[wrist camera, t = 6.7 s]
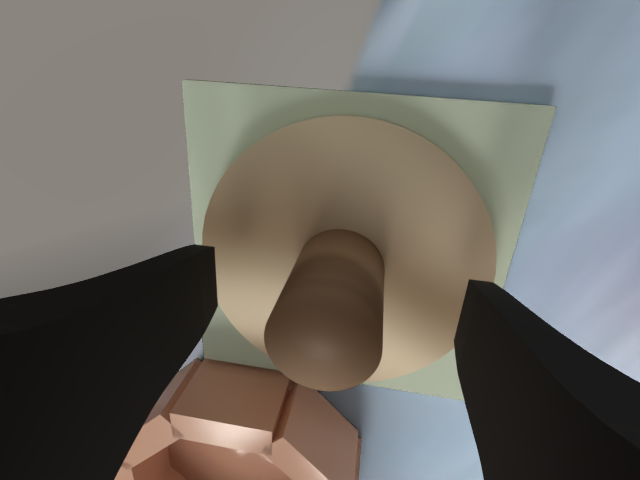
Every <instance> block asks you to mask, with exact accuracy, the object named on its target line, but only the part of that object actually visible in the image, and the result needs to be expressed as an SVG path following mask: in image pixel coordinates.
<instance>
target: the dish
mask: <svg viewBox="0 0 640 480" xmlns="http://www.w3.org/2000/svg"><path fill="white" fill-rule="evenodd" d="M358 432H359V431H358V430H357V429H356V428H354V427H353V426H352V425H351V424H350V423H349V422H348V421H347V420H346V419H345V418H344V417H343V416H342V415H341V414H340V413H339V412H338V411H337V410H336V409H335V408H334V407H333V406H332V405H331V404H330V403H329V402H328V401H327V400H326V399H325V398H324V397H323V396H322V395H321V394H320V393H319V392H318V391H317V390H315V389H311V388H308V387H305V386H302V385H300V384H298V383H296V382H294V381H292V380H291V379H289V378H288V377H286V376H285V375H284V374H283V373H282V372H280V371H279V370H273V369H267V368H261V367H255V366H249V365H243V364H237V363H231V362H225V361H219V360H213V359H207V358H204V360H203V361H201V360H200V359H199V358H196V359H195V360H194V361H192V362H191V363H189V364H188V365H187V366H185V367H184V368H183V369H181V370H180V371H178V372H177V374H176V375H175V376H174V378H173V379H172V381H171V382H170V383H169V385H168V386H167V388H166V389H165V391H164V392H163V393H162V395H161V396H160V398H159V400H158V401H157V403H156V404H155V406H154V407H153V409H152V411H151V412H150V414H149V416H148V418H147V419H146V421H145V423H144V425H143V427H142V428H141V430H140V432H139V434H138V436H137V437H136V439H135V441H134V443H133V445H132V447H131V448H130V450H129V452H128V454H127V456H126V458H125V460H124V462H123V464H122V466H121V468H120V470H119V471H118V473H117V475H116V477H115V479H114V480H358V476H359V463H360V449H361V438H358Z"/></svg>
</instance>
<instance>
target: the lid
mask: <svg viewBox="0 0 640 480" xmlns="http://www.w3.org/2000/svg"><path fill="white" fill-rule="evenodd" d="M202 245H204V246H212V247H215V263H216V281H217V298H218V304H219V306H220V307H221V309H222V311H223V312H224V314H225V315H226V316H227V318H228V319H229V321H230V322H231V323H232V325H233V326H234V327H235V328H236V329H237V330H238V331H239V332H240V333H241V335H242V336H243V337H245V338H246V339H247V340H248V341H249V342H250V343H251V344H252V345H253V346H255V347H256V348H257V349H259V350H260V351H262V352H263V353H264V354H266V355H267V356H269V357H270V359H271V361H272V362H273V364H274V365H275V366H276V367H277V368H278V370H279V371H280V372H282V373H283V374H284V375H285V376H286V377H288V378H289V379H291V380H292V381H294V382H296V383H298V384H300V385H302V386H305V387H308V388H311V389H315V390H320V391H341V390H346V389H350V388H353V387H355V386H358V385H360V384H361V383H363V382H373V381H381V380H387V379H392V378H396V377H400V376H403V375H407V374H410V373H412V372H415V371H417V370H419V369H422V368H424V367H426V366H428V365H430V364H432V363H433V362H435V361H437V360H439V359H440V358H442V357H443V356H444V355H446V354H447V353H448V352H450V351H451V350H452V349H454V337H455V333H456V329H457V325H458V321H459V317H460V313H461V309H462V305H463V301H464V297H465V293H466V289H467V285H468V281H469V279H472V280H480V281H487V282H493V283H494V278H495V274H496V259H497V254H496V242H495V235H494V231H493V227H492V223H491V219H490V216H489V214H488V212H487V209H486V207H485V204H484V202H483V200H482V198H481V196H480V195H479V193H478V192H477V190H476V188H475V187H474V185H473V183H472V182H471V180H470V179H469V178H468V176H467V175H466V174H465V173H464V172H463V170H462V169H461V168H460V167H459V166H458V164H457V163H456V162H455V161H454V160H453V159H452V158H451V157H450V156H449V155H447V154H446V153H445V152H444V151H443V150H442V149H441V148H440V147H438V146H437V145H435V144H434V143H432V142H431V141H429V140H428V139H426V138H425V137H423V136H422V135H420V134H418V133H416V132H414V131H411V130H409V129H407V128H405V127H403V126H401V125H398V124H394V123H391V122H388V121H385V120H382V119H377V118H371V117H365V116H358V115H332V116H322V117H315V118H311V119H307V120H303V121H299V122H296V123H294V124H291V125H289V126H286V127H284V128H281V129H279V130H277V131H275V132H273V133H272V134H270V135H268V136H266V137H265V138H263V139H261V140H260V141H258V142H256V143H255V144H254V145H252V146H251V147H250V148H249V149H247V150H246V151H245V152H244V153H242V154H241V155H240V156H239V157H238V158H237V159H236V160H235V161H234V163H233V164H232V165H231V166H230V167H229V168H228V169H227V171H226V172H225V174H224V175H223V177H222V178H221V179H220V181H219V182H218V184H217V186H216V188H215V190H214V192H213V194H212V196H211V198H210V201H209V204H208V208H207V211H206V214H205V219H204V225H203V231H202Z"/></svg>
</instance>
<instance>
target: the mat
mask: <svg viewBox="0 0 640 480" xmlns="http://www.w3.org/2000/svg"><path fill="white" fill-rule="evenodd" d="M182 91H183V104H184V117H185V129H186V142H187V154H188V166H189V179H190V191H191V204H192V217H193V228H194V242H195V244H196V245H202V231H203V225H204V219H205V214H206V211H207V208H208V204H209V201H210V198H211V196H212V194H213V192H214V190H215V188H216V186H217V184H218V182H219V181H220V179H221V178H222V177H223V175H224V174H225V172H226V171H227V169H228V168H229V167H230V166H231V165H232V164H233V163H234V161H235V160H236V159H237V158H238V157H239V156H240V155H241V154H242V153H244V152H245V151H246V150H247V149H249V148H250V147H251V146H252V145H254V144H255V143H256V142H258V141H260V140H261V139H263V138H265V137H266V136H268V135H270V134H272V133H273V132H275V131H277V130H279V129H281V128H284V127H286V126H289V125H291V124H294V123H296V122H299V121H303V120H307V119H311V118H315V117H322V116H332V115H358V116H365V117H371V118H377V119H382V120H385V121H388V122H391V123H394V124H398V125H401V126H403V127H405V128H407V129H409V130H411V131H414V132H416V133H418V134H420V135H422V136H423V137H425V138H426V139H428V140H429V141H431V142H432V143H434V144H435V145H437V146H438V147H440V148H441V149H442V150H443V151H444V152H445V153H446V154H447V155H449V156H450V157H451V158H452V159H453V160H454V161H455V162H456V163H457V164H458V166H459V167H460V168H461V169H462V170H463V172H464V173H465V174H466V175H467V176H468V178H469V179H470V180H471V182H472V183H473V185H474V187H475V188H476V190H477V192H478V193H479V195H480V196H481V198H482V200H483V202H484V204H485V207H486V209H487V212H488V214H489V216H490V219H491V223H492V227H493V231H494V235H495V242H496V254H497V259H496V274H495V278H494V283H495V284H496V285H498V286H499V287H501V288H502V289H503V287H504V284H505V281H506V277H507V274H508V270H509V267H510V264H511V260H512V257H513V253H514V250H515V246H516V243H517V240H518V236H519V233H520V229H521V226H522V222H523V219H524V216H525V212H526V209H527V205H528V202H529V199H530V195H531V192H532V188H533V185H534V181H535V178H536V175H537V171H538V168H539V164H540V161H541V157H542V154H543V151H544V147H545V144H546V140H547V137H548V134H549V130H550V127H551V123H552V120H553V116H554V113H555V110H556V106H551V105H537V104H523V103H509V102H496V101H482V100H468V99H454V98H440V97H426V96H412V95H398V94H384V93H370V92H356V91H342V90H328V89H315V88H301V87H287V86H272V85H259V84H258V85H257V84H244V83H230V82H216V81H203V80H189V79H188V80H186V79H185V80H182ZM202 342H203V354H204V358H207V359H213V360H219V361H225V362H231V363H237V364H243V365H249V366H255V367H261V368H267V369H273V370H278V368H277V367H276V366H275V365H274V364H273V362H272V361H271V359H270V357H269V356H267V355H266V354H264V353H263V352H262V351H260V350H259V349H257V348H256V347H255V346H253V345H252V344H251V343H250V342H249V341H248V340H247V339H246V338H245V337H243V336H242V335H241V333H240V332H239V331H238V330H237V329H236V328H235V327H234V326H233V325H232V323H231V322H230V321H229V319H228V318H227V316H226V315H225V314H224V312H223V311H222V309H221V307H220V306H219V304H218V307H217V309H216V311H215V313H214V315H213V318H212V320H211V322H210V324H209V326H208V327H207V329H206V331H205V333H204V335H203V336H202ZM361 384H365V385H371V386H377V387H383V388H389V389H395V390H401V391H407V392H413V393H419V394H425V395H431V396H437V397H443V398H450V399H456V400H462V401H464V397H463V393H462V389H461V385H460V381H459V377H458V373H457V366H456V358H455V348H454V349H452V350H451V351H450V352H448V353H447V354H446V355H444V356H443V357H442V358H440V359H439V360H437V361H435V362H433V363H432V364H430V365H428V366H426V367H424V368H422V369H419V370H417V371H415V372H412V373H410V374H407V375H403V376H400V377H396V378H392V379H387V380H381V381H373V382H363V383H361Z"/></svg>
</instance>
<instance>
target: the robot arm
mask: <svg viewBox="0 0 640 480" xmlns="http://www.w3.org/2000/svg"><path fill="white" fill-rule="evenodd" d="M217 307H218V298H217V281H216V263H215V247H212V246H204V245H196V244H194V245H190V246H185V247H182V248H179V249H176V250H173V251H170V252H167V253H164V254H162V255H159V256H156V257H153V258H151V259H148V260H145V261H142V262H139V263H137V264H134V265H131V266H128V267H125V268H122V269H119V270H116V271H113V272H110V273H107V274H104V275H100V276H98V277H94V278H91V279H88V280H84V281H80V282H76V283H73V284H69V285H65V286H61V287H56V288H53V289H48V290H43V291H38V292H33V293H28V294H22V295H18V296H12V297H6V298H1V299H0V480H114V479H115V477H116V475H117V473H118V471H119V470H120V468H121V466H122V464H123V462H124V460H125V458H126V456H127V454H128V452H129V450H130V448H131V447H132V445H133V443H134V441H135V439H136V437H137V436H138V434H139V432H140V430H141V428H142V427H143V425H144V423H145V421H146V419H147V418H148V416H149V414H150V412H151V411H152V409H153V407H154V406H155V404H156V403H157V401H158V400H159V398H160V396H161V395H162V393H163V392H164V391H165V389H166V388H167V386H168V385H169V383H170V382H171V381H172V379H173V378H174V376H175V375H176V374H177V372H178V371H179V369H180V368H181V366H182V365H183V364H184V362H185V361H186V359H187V358H188V357H189V355H190V354H191V352H192V351H193V349H194V348H195V346H196V345H197V343H198V342H199V341H200V339H201V338H202V336H203V335H204V333H205V331H206V329H207V327H208V326H209V324H210V322H211V320H212V318H213V315H214V313H215V311H216V309H217ZM454 348H455V358H456V366H457V373H458V377H459V381H460V385H461V389H462V393H463V397H464V401H465V404H466V408H467V412H468V415H469V419H470V423H471V427H472V430H473V434H474V438H475V441H476V445H477V449H478V453H479V457H480V462H481V466H482V471H483V477H484V480H640V383H639V382H637V381H636V380H634V379H632V378H630V377H629V376H627V375H625V374H623V373H622V372H620V371H618V370H617V369H615V368H613V367H612V366H610V365H608V364H607V363H605V362H603V361H602V360H600V359H598V358H597V357H595V356H594V355H592V354H591V353H589V352H587V351H586V350H584V349H583V348H582V347H580V346H579V345H577V344H576V343H574V342H573V341H571V340H570V339H568V338H567V337H566V336H564V335H563V334H561V333H560V332H559V331H557V330H556V329H554V328H553V327H552V326H550V325H549V324H548V323H546V322H545V321H544V320H542V319H541V318H540V317H538V316H537V315H536V314H535V313H533V312H532V311H531V310H529V309H528V308H527V307H526V306H524V305H523V304H522V303H520V302H519V301H518V300H517V299H515V298H514V297H513V296H512V295H510V294H509V293H508V292H506V291H505V290H504V289H502V288H501V287H499V286H498V285H496V284H495V283H493V282H487V281H480V280H472V279H469V281H468V285H467V289H466V293H465V297H464V301H463V305H462V309H461V313H460V317H459V321H458V325H457V329H456V333H455V337H454Z"/></svg>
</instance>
